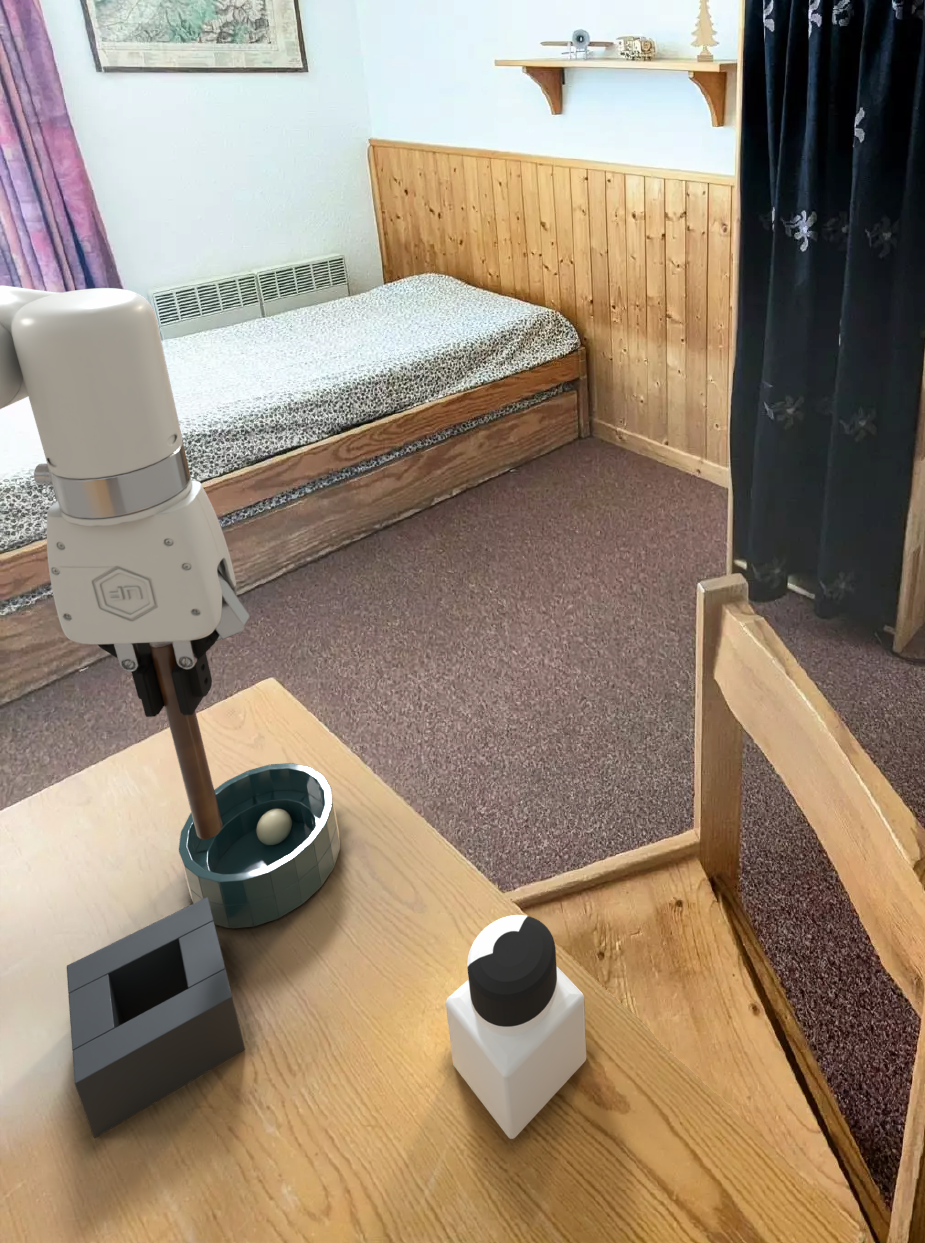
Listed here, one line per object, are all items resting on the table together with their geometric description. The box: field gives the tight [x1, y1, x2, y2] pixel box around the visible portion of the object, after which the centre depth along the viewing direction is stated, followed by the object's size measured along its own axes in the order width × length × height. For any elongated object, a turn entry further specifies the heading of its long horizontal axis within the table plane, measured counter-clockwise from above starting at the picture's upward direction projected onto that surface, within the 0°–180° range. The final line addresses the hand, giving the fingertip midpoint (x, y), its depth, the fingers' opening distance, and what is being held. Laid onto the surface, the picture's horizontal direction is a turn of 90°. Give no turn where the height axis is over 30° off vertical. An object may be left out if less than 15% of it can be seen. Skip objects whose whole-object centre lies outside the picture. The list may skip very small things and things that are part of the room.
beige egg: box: [256, 809, 292, 845], centre depth 80 cm, size 3×3×3 cm
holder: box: [66, 897, 246, 1139], centre depth 64 cm, size 10×10×6 cm
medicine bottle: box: [445, 914, 587, 1140], centre depth 61 cm, size 7×7×12 cm
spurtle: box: [149, 642, 222, 839], centre depth 64 cm, size 2×2×18 cm
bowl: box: [178, 762, 341, 929], centre depth 77 cm, size 12×12×6 cm
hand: (178, 701), depth 63 cm, fingers closed on spurtle, 1 cm apart
